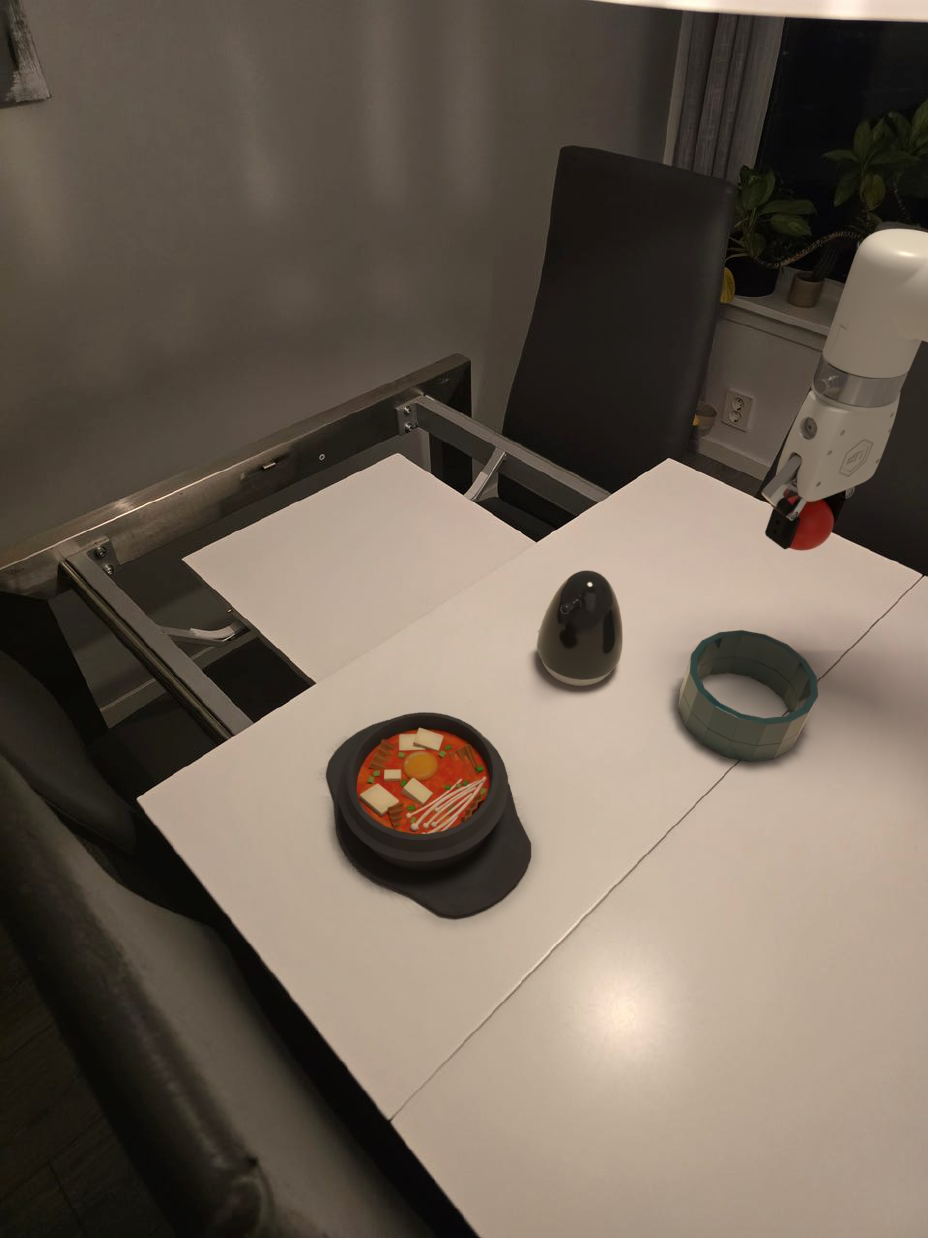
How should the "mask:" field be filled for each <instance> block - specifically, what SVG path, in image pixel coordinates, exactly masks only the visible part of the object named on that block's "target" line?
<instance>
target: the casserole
mask: <svg viewBox="0 0 928 1238" xmlns="http://www.w3.org/2000/svg"><path fill="white" fill-rule="evenodd" d="M325 775H326V778H327V782H328V786H329V788H330V791H331V796H332V797H333V806H334V807H333V808H334V822H335V831H336V833H337V837H338V839H339V843H340V846H341V847H342V849H343V850H344V853H345V854H346V855H347V858H348V859H349V860H350V861H351V862H352V863H353V864H354V865H355V866H356V867H357V868H358V869H359V870H360V871H361V873H363V874H365V875H367V876H368V877H369V878H370V879H372V880H374V881H375V882H378V883H380V884H382V885H386V886H388V887H390V888H393V889H395V890H397V891H399V892H400V891H401V892H403V893H405V894H408V895H410V896H411V897H413V898H414V899H416V900H418V901H419V902H420V903H422V904H424V905H425V906H427V907H429V908H430V909H432V910H433V911H435V912H437V913H438V914H440V915H447V916H452V917H457V916H458V917H459V916H463V915H464V916H465V915H469V914H473V913H475V912H479V911H481V910H483V909H485V908H488V907H490V906H491V905H493V904H494V903H496V902H498V901H500V900H501V899H503V898H504V897H505V896H506V895H507V894H508V893H509V892H510V891H511V890H513V888H514V887H515V886H516V885H517V884H518V883H519V882H520V880H521V879H522V877H523V876H524V874H525V873H526V871H527V869H528V867H529V865H530V861H531V859H532V841H531V840H530V838H529V836H528V834H527V832H526V830H525V828H524V826H523V824H522V821H521V818H520V817H519V815H518V812H517V808H516V804H515V800H514V796H513V792H512V788H511V785H510V783H509V776H508V772H507V769H506V764H505V762H504V761H503V758H502V757H501V755H500V753H499V750H498V749H497V748H496V747H495V746H494V745H493V743H491V741H490V740H489V739H488V738H486V737H485V736H484V735H483V734H482V732H480V731H479V730H478V729H476V728H475V727H474V726H472V724H470V723H468V722H466V721H464V720H462V719H460V718H458V717H455V716H451V715H448V714H445V713H439V712H430V711H429V712H421V711H419V712H412V713H406V714H402V715H399V716H395V717H392V718H390V719H386V720H383V721H379V722H377V723H376V722H375V723H373V724H371V725H369V726H366V727H364V728H363V729H360V730H359V731H357V732H356V733H354V734H352V735H351V737H349V738H347V739H346V740H345V741H344V742H343V743H341V745H340V746H339V747H338V748H337V749H336V750H335V751H334V753H333V754H332V756H331V757H330V759H329V760H328V762H327V766H326V771H325Z"/></svg>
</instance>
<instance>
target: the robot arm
mask: <svg viewBox="0 0 928 1238" xmlns="http://www.w3.org/2000/svg"><path fill="white" fill-rule="evenodd" d="M922 341H923V342H926V343H928V232H926V231H923V230H922V231H921V230H916V229H909V228H889V229H882V230H878V231H875V232H873V233H871V234H869V235H868V236H867V237H865V239H864V240H862V242H861V243H860V245H859V246H858V247H857V250H856V253H855V255H854V258H853V261H852V262H851V266H850V269H849V272H848V275H847V278H846V281H845V285H844V287H843V290H842V293H841V296H840V299H839V302H838V304H837V307H836V310H835V314H834V317H833V319H832V323H831V326H830V329H829V332H828V334H827V337H826V340H825V343H824V346H823V350H822V352H821V354H820V358H819V360H818V364H817V366H816V370H815V371H814V376H813V379H812V382H811V386H810V388H811V390H810V391H808V393H807V395H806V397H805V400H804V401H803V403H802V404H801V407H800V409H799V411H798V412H797V415H796V418H795V419H794V422H793V423H792V426H791V428H790V431H789V433H788V435H787V439H786V441H785V444H784V446H783V448H782V452H781V454H780V456H779V460H778V463H777V468H776V473H775V476H774V477H773V478H772V479H771V480H770V481H769V482H768V483H767V484H766V486H765V487H764V488H763V489H762V491H761V495H762V496H763V498H765V499H766V500H767V502H768V503H769V504H770V507H771V508H772V511H771V513H770V516H769V519H768V522H767V525H766V528H765V531H764V534H765V536H766V537H767V538H768V539H769V540H771V541H772V542H773V543H775V544H777V545H778V546H779V547H780V548H781V549H783V550H787V549H791V548H790V547H791V544H792V542H793V539H794V536H795V534H796V531H797V529H798V526H799V523H800V521H801V519H800V518H799V517H798V515H799V513H800V512H801V510H802V509H803V507H804V505H805V504H806V502H807V501H808V502H812V501H817V500H820V499H822V500H823V501H825V502H826V503H827V504H828V506H829V507H830V509H831V511H832V513H833V518H834V525H833V529H832V531H833V530H835V529H836V528H837V526H838V524H839V521H840V519H841V517H842V513H843V512H844V509H845V507H846V504H847V502H848V499H849V498H851V496H853V494H854V493H855V489H856V488H855V487H856V486H858V485H860V484H862V483H865V482H867V481H868V480H869V479H871V478H872V477H873V476H874V474H875V472H876V471H877V468H878V466H879V464H880V461H881V459H882V457H883V454H884V451H885V449H886V446H887V443H888V440H889V437H890V435H891V432H892V430H893V426H894V424H895V419H896V415H897V412H898V407H899V404H900V397H901V390H902V389H903V386H904V383H905V381H906V379H907V376H908V373H909V371H910V369H911V367H912V365H913V362H914V359H915V357H916V356H917V352H918V350H919V348H920V346H921V344H922ZM791 492H792V493H794V494H796V496H797V495H798V497H797V499H796V500H795V502H794V503H793V505H792V504H791V503H790V502H789V501H788V500H787V497H788V496H789V494H790V493H791Z"/></svg>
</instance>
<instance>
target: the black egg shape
mask: <svg viewBox="0 0 928 1238" xmlns="http://www.w3.org/2000/svg"><path fill="white" fill-rule="evenodd" d="M554 593H555V594H554V595H553V597H552V599H551V600H550V603H549V604H548V606H547V608H546V611H545V613H544V615H543V618H542V621H541V624H540V626H539V631H538V634H537V639H536V650H537V654H538V656H539V659H540V660H541V662H542V665H543V666H544V668H545V670H546V671H547V672H548V673H549V674H550V675H551V677H552V678H554V679H556V680H557V681H559V682H561V683H563V684H566V685H569V686H576V687H588V686H591V685H595V684H598V683H599V682H601V681H602V680H604V679H605V678H606V677H608V676H609V675H610V674H611V672H612V671H613V670H615V668H616V667H617V665H619V662H620V660H621V657H622V652H623V641H624V640H623V637H624V636H623V633H624V632H623V620H622V614H621V610H620V605H619V601H618V597H617V595H616V593H615V589H614V588H613V586H612V585H611V583H610V582H609V580H608V579H607V578H606V577H605V576H604V575H603V574H601V573H599V572H597V571H594V570H587V569H586V570H580V571H577V572H575V573H573V574H571V575H570V576H568V578H566V580H564V581H563V583H562V584H561V585H560V586H559V588H558V589H557V590H556V592H554Z"/></svg>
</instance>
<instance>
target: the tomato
mask: <svg viewBox="0 0 928 1238" xmlns="http://www.w3.org/2000/svg"><path fill="white" fill-rule="evenodd" d="M797 497H798V495H797V494H796V495H794V496H791V497H789V498H788V499H787V498H786V499H787V500H788V501H789V502H790V503H791V504H792V505H793V503H794V502H795V500H796V499H797ZM798 517H799V518H800V519H801V521H800V523H799V526H798V529H797V531H796V534H795V536H794V539H793V542H792V544H791V547H790V548H789V549H790V550H791V549H792V550H793V551H799V552H800V551H803V552H804V551H810V550H813V549H816V548H818V547H820V546H821V545H822V544H824V543H825V542H826V541H827V540H828V539H829V537H830V535H831V534H832V532H833V530H834V529H833V525H834V518H833V513H832V511H831V509H830V507H829V506H828V504H827V503H826V502H825V501H823V500H822V499H820V500H817V501H812V502H808V501H807V502H806V504H805V505H804V507H803V509H802V510H801V512H800V513H799V515H798ZM832 529H833V530H832Z"/></svg>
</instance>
